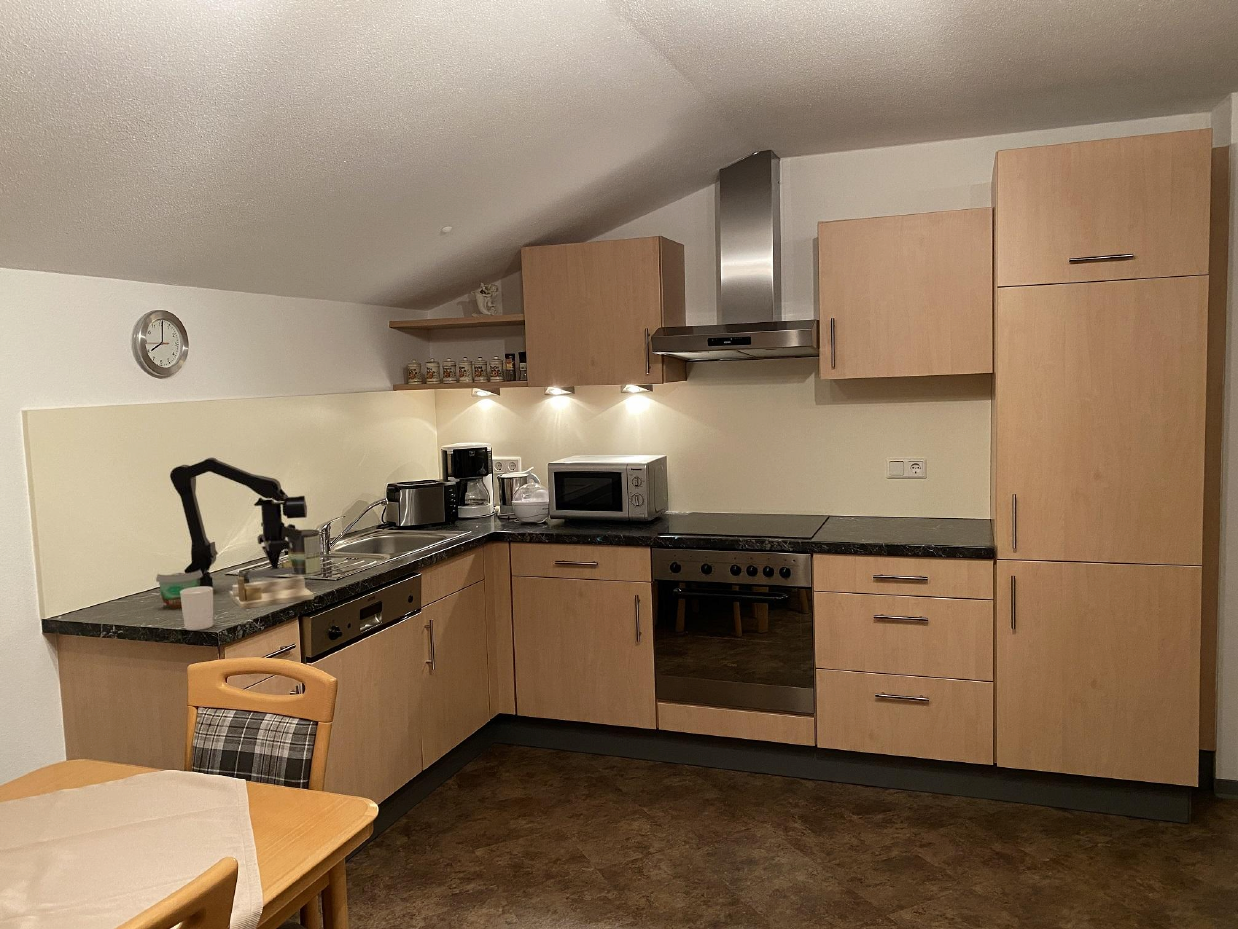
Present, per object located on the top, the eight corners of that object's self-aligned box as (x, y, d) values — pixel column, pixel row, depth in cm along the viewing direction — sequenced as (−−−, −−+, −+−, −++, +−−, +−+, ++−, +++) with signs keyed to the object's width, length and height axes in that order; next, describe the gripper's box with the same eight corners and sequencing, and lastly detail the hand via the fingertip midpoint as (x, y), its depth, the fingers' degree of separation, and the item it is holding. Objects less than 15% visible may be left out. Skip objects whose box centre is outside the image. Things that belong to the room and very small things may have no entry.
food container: (157, 612, 268) (154, 577, 267) (158, 607, 274) (155, 573, 273) (204, 606, 273) (202, 572, 272) (204, 602, 279) (202, 568, 278)
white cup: (197, 622, 255) (194, 586, 254) (222, 624, 253) (219, 587, 252) (175, 630, 248) (173, 592, 247) (201, 631, 245) (198, 593, 244)
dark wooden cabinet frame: (240, 580, 282) (239, 569, 282) (238, 578, 285) (237, 567, 284) (294, 573, 290) (293, 562, 290) (292, 572, 293) (291, 560, 292)
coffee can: (289, 578, 310) (287, 535, 309) (288, 572, 320) (286, 531, 319) (322, 575, 314) (320, 532, 313) (320, 569, 324) (318, 528, 322)
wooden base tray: (241, 609, 269) (239, 581, 268) (229, 596, 286) (227, 570, 285) (313, 599, 279) (312, 572, 278) (297, 587, 296) (296, 561, 295)
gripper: (305, 520, 289) (308, 570, 291) (292, 513, 305) (295, 561, 307) (267, 524, 284) (270, 575, 285) (255, 517, 300) (258, 565, 301)
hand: (275, 569), depth 295 cm, fingers closed
